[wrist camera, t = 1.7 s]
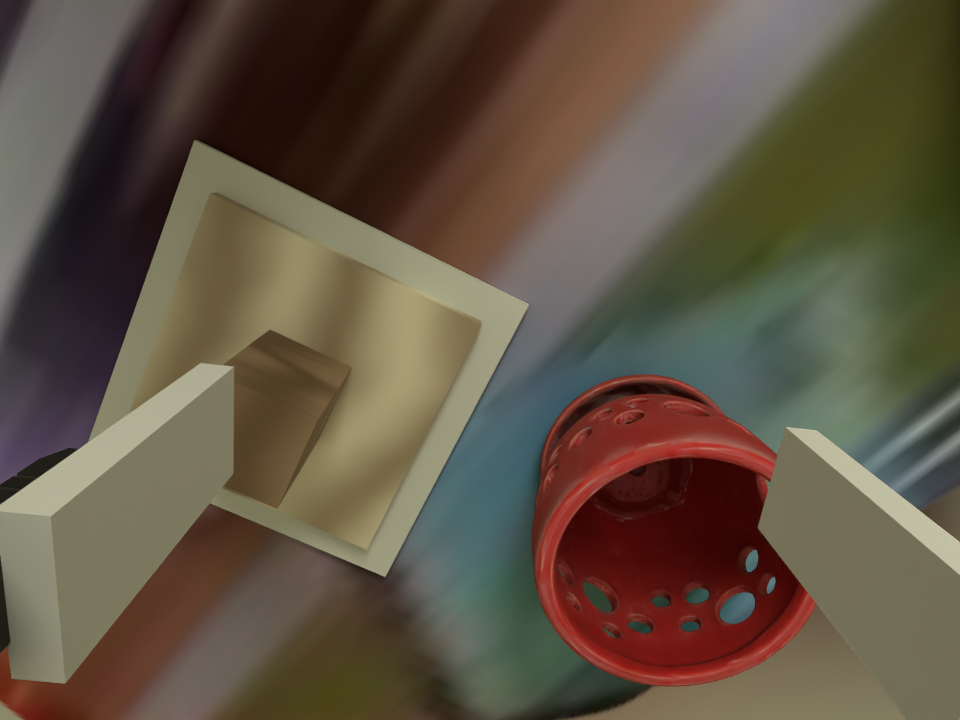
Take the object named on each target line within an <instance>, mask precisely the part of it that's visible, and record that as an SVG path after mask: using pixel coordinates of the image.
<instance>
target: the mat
mask: <svg viewBox="0 0 960 720" xmlns="http://www.w3.org/2000/svg"><path fill="white" fill-rule="evenodd" d="M210 193H219V194H221V195H223V196H226V197H228V198H230V199H232V200H234V201H236V202H238V203H240V204H242V205H244V206H246V207H248V208H250V209H252V210H254V211H256V212H258V213H260V214H263V215H265V216H267V217H269V218H271V219H273V220H275V221H277V222H279V223H281V224H283V225H285V226H287V227H289V228H291V229H293V230H295V231H297V232H300V233H302V234H304V235H306V236H308V237H310V238H312V239H314V240H316V241H318V242H320V243H322V244H324V245H326V246H328V247H330V248H332V249H334V250H337V251H339V252H341V253H343V254H345V255H347V256H349V257H351V258H353V259H355V260H357V261H359V262H361V263H363V264H365V265H367V266H369V267H371V268H374V269H376V270H378V271H380V272H382V273H384V274H386V275H388V276H390V277H392V278H394V279H396V280H398V281H400V282H402V283H404V284H406V285H408V286H411V287H413V288H415V289H417V290H419V291H421V292H423V293H425V294H427V295H429V296H431V297H433V298H435V299H437V300H439V301H441V302H443V303H445V304H448V305H450V306H452V307H454V308H456V309H458V310H460V311H462V312H464V313H466V314H468V315H470V316H472V317H474V318H476V319H478V320H480V321H482V325H481V327H480V329H479V331H478V333H477V335H476V337H475V339H474V341H473V343H472V345H471V347H470V349H469V351H468V353H467V355H466V357H465V359H464V361H463V363H462V365H461V366H460V368H459V370H458V372H457V374H456V376H455V378H454V380H453V382H452V384H451V386H450V388H449V390H448V392H447V394H446V396H445V398H444V400H443V402H442V404H441V406H440V408H439V409H438V411H437V413H436V415H435V417H434V419H433V421H432V423H431V425H430V427H429V429H428V431H427V433H426V435H425V437H424V439H423V441H422V443H421V445H420V447H419V449H418V450H417V452H416V454H415V456H414V458H413V460H412V462H411V464H410V466H409V468H408V470H407V472H406V474H405V476H404V478H403V480H402V482H401V484H400V486H399V488H398V490H397V492H396V493H395V495H394V497H393V499H392V501H391V503H390V505H389V507H388V509H387V511H386V513H385V515H384V517H383V519H382V521H381V523H380V525H379V527H378V529H377V531H376V533H375V534H374V536H373V538H372V540H371V542H370V544H369V546H368V548H367V549H364V548H362V547H360V546H357V545H355V544H352V543H350V542H348V541H345V540H343V539H341V538H338V537H336V536H334V535H331V534H329V533H327V532H324V531H322V530H320V529H317V528H315V527H312V526H310V525H308V524H305V523H303V522H301V521H298V520H296V519H294V518H291V517H289V516H287V515H284V514H282V513H280V512H277V511H275V510H272V509H270V508H268V507H265V506H263V505H261V504H258V503H256V502H254V501H251V500H249V499H247V498H244V497H242V496H239V495H237V494H235V493H232V492H230V491H228V490H225V489H223V488H221V490H220V491H219V492H218V493H217V495H216V496H215V497H214V498H213V500H212V501H211V502H210V503H211V504H213V505H215V506H218V507H220V508H222V509H225V510H227V511H230V512H232V513H234V514H237V515H239V516H242V517H244V518H246V519H249V520H251V521H253V522H256V523H258V524H261V525H263V526H265V527H268V528H270V529H272V530H275V531H277V532H280V533H282V534H284V535H287V536H289V537H291V538H294V539H296V540H299V541H301V542H303V543H306V544H308V545H310V546H313V547H315V548H318V549H320V550H322V551H325V552H327V553H329V554H332V555H334V556H337V557H339V558H341V559H344V560H346V561H348V562H351V563H353V564H356V565H358V566H360V567H363V568H365V569H368V570H370V571H372V572H375V573H377V574H379V575H382V576H384V577H386V575H387V573H388V571H389V569H390V567H391V565H392V563H393V561H394V560H395V558H396V556H397V554H398V552H399V550H400V548H401V546H402V544H403V543H404V541H405V539H406V537H407V535H408V533H409V531H410V529H411V527H412V526H413V524H414V522H415V520H416V518H417V516H418V514H419V512H420V510H421V509H422V507H423V505H424V503H425V501H426V499H427V497H428V495H429V493H430V492H431V490H432V488H433V486H434V484H435V482H436V480H437V478H438V476H439V474H440V473H441V471H442V469H443V467H444V465H445V463H446V461H447V459H448V457H449V456H450V454H451V452H452V450H453V448H454V446H455V444H456V442H457V440H458V439H459V437H460V435H461V433H462V431H463V429H464V427H465V425H466V423H467V422H468V420H469V418H470V416H471V414H472V412H473V410H474V408H475V406H476V404H477V403H478V401H479V399H480V397H481V395H482V393H483V391H484V389H485V387H486V386H487V384H488V382H489V380H490V378H491V376H492V374H493V372H494V370H495V369H496V367H497V365H498V363H499V361H500V359H501V357H502V355H503V353H504V352H505V350H506V348H507V346H508V344H509V342H510V340H511V338H512V336H513V335H514V333H515V331H516V329H517V327H518V325H519V323H520V321H521V319H522V317H523V316H524V314H525V312H526V310H527V308H528V306H529V305H528V304H527V303H525V302H523V301H521V300H519V299H517V298H515V297H513V296H511V295H509V294H507V293H505V292H503V291H501V290H499V289H497V288H495V287H493V286H491V285H489V284H487V283H485V282H483V281H481V280H479V279H477V278H475V277H473V276H471V275H469V274H467V273H465V272H463V271H461V270H459V269H457V268H455V267H453V266H451V265H449V264H446V263H444V262H442V261H440V260H438V259H436V258H434V257H432V256H430V255H428V254H426V253H424V252H422V251H420V250H418V249H416V248H414V247H412V246H410V245H408V244H406V243H404V242H402V241H400V240H398V239H396V238H394V237H392V236H390V235H388V234H386V233H384V232H382V231H380V230H378V229H376V228H374V227H372V226H370V225H368V224H366V223H364V222H362V221H360V220H358V219H356V218H354V217H352V216H350V215H348V214H346V213H344V212H342V211H339V210H337V209H335V208H333V207H331V206H329V205H327V204H325V203H323V202H321V201H319V200H317V199H315V198H313V197H311V196H309V195H307V194H305V193H303V192H301V191H299V190H297V189H295V188H293V187H291V186H289V185H287V184H285V183H283V182H281V181H279V180H277V179H275V178H273V177H271V176H269V175H267V174H265V173H263V172H261V171H259V170H257V169H255V168H253V167H251V166H249V165H247V164H245V163H243V162H241V161H239V160H237V159H235V158H233V157H230V156H228V155H226V154H224V153H222V152H220V151H218V150H216V149H214V148H212V147H210V146H208V145H206V144H204V143H202V142H200V141H197V140H194V143H193V146H192V148H191V151H190V154H189V157H188V160H187V163H186V165H185V168H184V171H183V174H182V177H181V180H180V182H179V185H178V188H177V191H176V194H175V197H174V200H173V202H172V205H171V208H170V211H169V214H168V217H167V219H166V222H165V225H164V228H163V231H162V234H161V237H160V239H159V242H158V245H157V248H156V251H155V254H154V256H153V259H152V262H151V265H150V268H149V271H148V274H147V276H146V279H145V282H144V285H143V288H142V291H141V293H140V296H139V299H138V302H137V305H136V308H135V310H134V313H133V316H132V319H131V322H130V325H129V328H128V330H127V333H126V336H125V339H124V342H123V345H122V347H121V350H120V353H119V356H118V359H117V362H116V365H115V367H114V370H113V373H112V376H111V379H110V382H109V384H108V387H107V390H106V393H105V396H104V399H103V402H102V404H101V407H100V410H99V413H98V416H97V419H96V421H95V424H94V427H93V430H92V433H91V436H90V438H89V441H88V442H90V441H91V440H92V439H94V438H95V437H97V436H98V435H100V434H101V433H102V432H104V431H105V430H107V429H108V428H109V427H111V426H112V425H114V424H115V423H117V422H118V421H119V420H121V419H122V418H124V417H125V416H126V415H128V414H129V412H130V410H131V407H132V404H133V401H134V399H135V396H136V393H137V390H138V388H139V385H140V382H141V380H142V377H143V374H144V371H145V369H146V366H147V363H148V360H149V358H150V355H151V352H152V349H153V347H154V344H155V341H156V339H157V336H158V333H159V330H160V328H161V325H162V322H163V319H164V317H165V314H166V311H167V309H168V306H169V303H170V300H171V298H172V295H173V292H174V289H175V287H176V284H177V281H178V278H179V276H180V273H181V270H182V268H183V265H184V262H185V259H186V257H187V254H188V251H189V248H190V246H191V243H192V240H193V238H194V235H195V232H196V229H197V227H198V224H199V221H200V218H201V216H202V213H203V210H204V207H205V205H206V202H207V199H208V197H209V194H210Z"/></svg>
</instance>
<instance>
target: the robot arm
mask: <svg viewBox="0 0 960 720" xmlns="http://www.w3.org/2000/svg"><path fill="white" fill-rule="evenodd" d="M233 465H234V367H232V366H223V365H214V364H205V363H200V364H199V365H197V366H196V367H194V368H193V369H192V370H190V371H189V372H187V373H186V374H185V375H183V376H182V377H180V378H179V379H177V380H176V381H175V382H173V383H172V384H170V385H169V386H168V387H166V388H165V389H163V390H162V391H160V392H159V393H158V394H156V395H155V396H153V397H152V398H151V399H149V400H148V401H146V402H145V403H143V404H142V405H141V406H139V407H138V408H136V409H135V410H134V411H132V412H131V413H129V414H128V415H126V416H125V417H124V418H122V419H121V420H119V421H118V422H117V423H115V424H114V425H112V426H111V427H109V428H108V429H107V430H105V431H104V432H102V433H101V434H100V435H98V436H97V437H95V438H94V439H92V440H91V441H90V442H88V443H87V444H85V445H84V446H83V447H81V448H80V449H73V448H68V449H65V450H62V451H60V452H57V453H54V454H51V455H49V456H46V457H43V458H41V459H38V460H37V461H35V462H34V463H32V464H31V465H29V466H28V467H26V468H25V469H23V470H22V471H20V472H19V473H17V477H15V476H13V477H11V478H10V479H8V480H7V481H5V482H4V483H2V484H1V485H0V652H1V651H2V650H3V649H4V648H5V647H6V646H7V645H8V652H9V661H10V669H11V678H12V679H22V680H32V681H43V682H54V683H66V682H67V681H68V680H69V678H70V677H71V676H72V675H73V673H74V672H75V671H76V670H77V668H78V667H79V666H80V665H81V663H82V662H83V661H84V660H85V658H86V657H87V656H88V655H89V653H90V652H91V651H92V650H93V648H94V647H95V646H96V645H97V643H98V642H99V641H100V640H101V638H102V637H103V636H104V635H105V633H106V632H107V631H108V630H109V628H110V627H111V626H112V625H113V623H114V622H115V621H116V620H117V618H118V617H119V616H120V615H121V613H122V612H123V611H124V610H125V608H126V607H127V606H128V605H129V603H130V602H131V601H132V600H133V598H134V597H135V596H136V595H137V593H138V592H139V591H140V590H141V588H142V587H143V586H144V585H145V583H146V582H147V581H148V580H149V578H150V577H151V576H152V575H153V573H154V572H155V571H156V570H157V568H158V567H159V566H160V565H161V563H162V562H163V561H164V560H165V558H166V557H167V556H168V555H169V553H170V552H171V551H172V550H173V548H174V547H175V546H176V545H177V543H178V542H179V541H180V540H181V538H182V537H183V536H184V535H185V533H186V532H187V531H188V530H189V528H190V527H191V526H192V525H193V523H194V522H195V521H196V520H197V518H198V517H199V516H200V515H201V513H202V512H203V511H204V510H205V508H206V507H207V506H208V505H209V503H210V502H211V501H212V500H213V498H214V497H215V496H216V495H217V493H218V492H219V491H220V490H221V488H222V487H223V486H224V485H225V483H226V482H227V481H228V480H229V478H230V477H231V476H232V475H233ZM758 529H759V530H760V531H761V533H762V534H763V535H764V537H765V538H766V539H767V540H768V542H769V543H770V544H771V546H772V547H773V548H774V549H775V551H776V552H777V553H778V555H779V556H780V557H781V559H782V560H783V561H784V562H785V564H786V565H787V566H788V568H789V569H790V570H791V571H792V573H793V574H794V575H795V577H796V578H797V579H798V581H799V582H800V583H801V584H802V586H803V587H804V588H805V590H806V591H807V592H808V593H809V595H810V596H811V597H812V599H813V600H814V601H815V603H816V604H817V605H818V606H819V608H820V609H821V610H822V611H823V613H824V614H825V615H826V617H827V618H828V619H829V621H830V622H831V623H832V625H833V626H834V627H835V628H836V630H837V631H838V632H839V634H840V635H841V636H842V637H843V639H844V640H845V641H846V643H847V644H848V645H849V646H850V648H851V649H852V650H853V652H854V653H855V654H856V656H857V657H858V658H859V659H860V661H861V662H862V663H863V665H864V666H865V667H866V669H867V670H868V671H869V672H870V674H871V675H872V676H873V678H874V679H875V680H876V681H877V683H878V684H879V685H880V687H881V688H882V689H883V691H884V692H885V693H886V694H887V696H888V697H889V698H890V699H891V701H892V702H893V703H894V704H895V706H896V707H897V709H898V710H899V711H900V712H901V714H902V715H903V716H904V718H905V719H906V720H960V542H959V541H957V540H956V539H955V538H954V537H952V536H951V535H950V534H949V533H947V532H946V531H945V530H943V529H942V528H941V527H939V526H938V525H937V524H936V523H934V522H933V521H932V520H930V519H929V518H928V517H927V516H925V515H924V514H923V513H922V512H920V511H919V510H918V509H917V508H915V507H914V506H913V505H911V504H910V503H909V502H908V501H906V500H905V499H904V498H902V497H901V496H900V495H899V494H897V493H896V492H895V491H893V490H892V489H891V488H890V487H888V486H887V485H886V484H885V483H883V482H882V481H881V480H879V479H878V478H877V477H876V476H874V475H873V474H872V473H870V472H869V471H868V470H867V469H865V468H864V467H863V466H861V465H860V464H859V463H858V462H856V461H855V460H854V459H852V458H851V457H850V456H849V455H847V454H846V453H845V452H844V451H842V450H841V449H840V448H838V447H837V446H836V445H835V444H833V443H832V442H831V441H829V440H828V439H827V438H826V437H824V436H823V435H822V434H820V433H819V432H818V431H817V430H807V429H798V428H789V427H785V431H784V434H783V438H782V441H781V445H780V449H779V452H778V456H777V460H776V463H775V467H774V470H773V474H772V478H771V481H770V485H769V489H768V492H767V496H766V499H765V503H764V507H763V510H762V514H761V518H760V521H759V525H758Z"/></svg>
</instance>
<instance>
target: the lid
mask: <svg viewBox="0 0 960 720" xmlns="http://www.w3.org/2000/svg"><path fill="white" fill-rule="evenodd" d="M481 325H482V321H480V320H478V319H476V318H474V317H472V316H470V315H468V314H466V313H464V312H462V311H460V310H458V309H456V308H454V307H452V306H450V305H448V304H445V303H443V302H441V301H439V300H437V299H435V298H433V297H431V296H429V295H427V294H425V293H423V292H421V291H419V290H417V289H415V288H413V287H411V286H408V285H406V284H404V283H402V282H400V281H398V280H396V279H394V278H392V277H390V276H388V275H386V274H384V273H382V272H380V271H378V270H376V269H374V268H371V267H369V266H367V265H365V264H363V263H361V262H359V261H357V260H355V259H353V258H351V257H349V256H347V255H345V254H343V253H341V252H339V251H337V250H334V249H332V248H330V247H328V246H326V245H324V244H322V243H320V242H318V241H316V240H314V239H312V238H310V237H308V236H306V235H304V234H302V233H300V232H297V231H295V230H293V229H291V228H289V227H287V226H285V225H283V224H281V223H279V222H277V221H275V220H273V219H271V218H269V217H267V216H265V215H263V214H260V213H258V212H256V211H254V210H252V209H250V208H248V207H246V206H244V205H242V204H240V203H238V202H236V201H234V200H232V199H230V198H228V197H226V196H223V195H221V194H219V193H210V194H209V197H208V199H207V202H206V205H205V207H204V210H203V213H202V216H201V218H200V221H199V224H198V227H197V229H196V232H195V235H194V238H193V240H192V243H191V246H190V248H189V251H188V254H187V257H186V259H185V262H184V265H183V268H182V270H181V273H180V276H179V278H178V281H177V284H176V287H175V289H174V292H173V295H172V298H171V300H170V303H169V306H168V309H167V311H166V314H165V317H164V319H163V322H162V325H161V328H160V330H159V333H158V336H157V339H156V341H155V344H154V347H153V349H152V352H151V355H150V358H149V360H148V363H147V366H146V369H145V371H144V374H143V377H142V380H141V382H140V385H139V388H138V390H137V393H136V396H135V399H134V401H133V404H132V407H131V410H130V412H129V413H131V412H132V411H134V410H135V409H136V408H138V407H139V406H141V405H142V404H143V403H145V402H146V401H148V400H149V399H151V398H152V397H153V396H155V395H156V394H158V393H159V392H160V391H162V390H163V389H165V388H166V387H168V386H169V385H170V384H172V383H173V382H175V381H176V380H177V379H179V378H180V377H182V376H183V375H185V374H186V373H187V372H189V371H190V370H192V369H193V368H194V367H196V366H197V365H199V364H200V363H205V364H214V365H223V366H232V367H234V465H233V475H232V476H231V477H230V478H229V480H228V481H227V482H226V483H225V485H224V486H223V487H222V488H223V489H225V490H228V491H230V492H232V493H235V494H237V495H239V496H242V497H244V498H247V499H249V500H251V501H254V502H256V503H258V504H261V505H263V506H265V507H268V508H270V509H272V510H275V511H277V512H280V513H282V514H284V515H287V516H289V517H291V518H294V519H296V520H298V521H301V522H303V523H305V524H308V525H310V526H312V527H315V528H317V529H320V530H322V531H324V532H327V533H329V534H331V535H334V536H336V537H338V538H341V539H343V540H345V541H348V542H350V543H352V544H355V545H357V546H360V547H362V548H364V549H367V548H368V546H369V544H370V542H371V540H372V538H373V536H374V534H375V533H376V531H377V529H378V527H379V525H380V523H381V521H382V519H383V517H384V515H385V513H386V511H387V509H388V507H389V505H390V503H391V501H392V499H393V497H394V495H395V493H396V492H397V490H398V488H399V486H400V484H401V482H402V480H403V478H404V476H405V474H406V472H407V470H408V468H409V466H410V464H411V462H412V460H413V458H414V456H415V454H416V452H417V450H418V449H419V447H420V445H421V443H422V441H423V439H424V437H425V435H426V433H427V431H428V429H429V427H430V425H431V423H432V421H433V419H434V417H435V415H436V413H437V411H438V409H439V408H440V406H441V404H442V402H443V400H444V398H445V396H446V394H447V392H448V390H449V388H450V386H451V384H452V382H453V380H454V378H455V376H456V374H457V372H458V370H459V368H460V366H461V365H462V363H463V361H464V359H465V357H466V355H467V353H468V351H469V349H470V347H471V345H472V343H473V341H474V339H475V337H476V335H477V333H478V331H479V329H480V327H481Z"/></svg>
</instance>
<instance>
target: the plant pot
mask: <svg viewBox="0 0 960 720" xmlns="http://www.w3.org/2000/svg"><path fill="white" fill-rule="evenodd" d="M776 460H777V455H776V454H775V453H774V452H773V451H772V450H771V449H770V448H769V447H768V446H767V445H766V444H764V443H763V442H762V441H761V440H760V439H759V438H757V437H756V436H755V435H754V434H753V433H751V432H750V431H749V430H747V429H746V428H745V427H743V426H742V425H740V424H739V423H737V422H735V421H733V420H732V419H730V418H728V417H726V416H725V415H724V414H723V412H722V411H721V410H720V409H719V407H718V406H717V405H716V404H715V403H714V402H713V401H712V400H711V399H710V398H708V397H707V396H706V395H704V394H703V393H702V392H700V391H699V390H697V389H696V388H694V387H692V386H690V385H688V384H686V383H684V382H681V381H678V380H675V379H673V378H669V377H664V376H658V375H631V376H624V377H618V378H615V379H611V380H608V381H606V382H603V383H601V384H599V385H596V386H594V387H592V388H591V389H589V390H587V391H586V392H584V393H583V394H581V395H580V396H579V397H577V398H576V399H575V400H573V401H572V402H571V403H570V404H569V405H568V406H567V407H566V408H565V409H564V410H563V411H562V413H561V414H560V415H559V417H558V418H557V419H556V421H555V422H554V424H553V426H552V427H551V429H550V431H549V433H548V436H547V438H546V441H545V444H544V447H543V451H542V456H541V467H540V472H541V478H540V482H539V486H538V489H537V495H536V503H535V514H534V520H533V527H532V555H533V566H534V576H535V584H536V589H537V593H538V596H539V600H540V603H541V606H542V608H543V610H544V612H545V614H546V616H547V618H548V619H549V621H550V623H551V624H552V626H553V628H554V629H555V631H556V632H557V634H558V635H559V636H560V637H561V639H562V640H563V641H564V642H565V643H566V644H567V645H568V646H569V647H570V648H571V649H572V650H573V651H574V652H576V653H577V654H578V655H579V656H580V657H582V658H583V659H585V660H586V661H588V662H589V663H591V664H593V665H594V666H596V667H598V668H599V669H601V670H603V671H605V672H607V673H609V674H612V675H614V676H617V677H620V678H623V679H626V680H629V681H633V682H637V683H641V684H646V685H655V686H689V685H698V684H704V683H709V682H714V681H718V680H721V679H725V678H728V677H731V676H734V675H736V674H739V673H741V672H744V671H746V670H748V669H750V668H752V667H754V666H756V665H758V664H760V663H762V662H763V661H765V660H766V659H768V658H769V657H770V656H772V655H773V654H774V653H776V652H777V651H778V650H780V649H781V648H783V647H784V646H785V645H786V644H787V643H788V642H789V641H790V640H791V639H792V638H794V637H795V635H796V634H797V633H798V632H799V631H800V629H801V628H802V627H803V626H804V625H805V623H806V621H807V620H808V618H809V617H810V615H811V614H812V612H813V610H814V609H815V607H816V605H817V604H816V603H815V601H814V600H813V599H812V597H811V596H810V595H809V593H808V592H807V591H806V590H805V588H804V587H803V586H802V584H801V583H800V582H799V581H798V579H797V578H796V577H795V575H794V574H793V573H792V571H791V570H790V569H789V568H788V566H787V565H786V564H785V562H784V561H783V560H782V559H781V557H780V556H779V555H778V553H777V552H776V551H775V549H774V548H773V547H772V546H771V544H770V543H769V542H768V540H767V539H766V538H765V537H764V535H763V534H762V533H761V531H760V530H759V529H758V525H759V521H760V518H761V514H762V510H763V507H764V503H765V499H766V496H767V492H768V486H767V482H766V479H767V480H768V481H769V482H770V481H771V478H772V474H773V470H774V467H775V463H776ZM755 549H756V550H757V553H758V557H759V558H758V564H757V567H756V568H755V569H754V570H753V571H752V572H747V570H746V565H745V564H746V559H747V556H748V555H749V553H751V552H752V551H753V550H755ZM558 568H559V570H560V571H561V573H562V575H563V577H564V579H563V577H562V576H561V574H560V572H559V570H558ZM773 577H775V579H776V583H775V587H774V589H773V591H772V592H771V593H769V594H767V590H766V589H767V585H768V583H769V581H770V579H771V578H773ZM583 582H587V583H590V584H593V585H594V586H596V587H597V588H599V589H600V590H601V591H602V592H603V593H604V594H605V595H606V596H607V598H608V599H609V601H610V603H611V606H612V611H611V612H605V611H602V610H600V609H598V608H597V607H596V606H594V605H593V604H592V603H591V602H590V600H589V599H588V597H587V596H586V594H585V593H584V590H583ZM696 588H703V589H706V590H708V591H709V597H708V599H707V600H706V601H704V602H702V603H699V604H693V603H689V602H687V601H686V596H687V594H688V593H689V592H690V591H691V590H693V589H696ZM742 592H748V593H751V594H753V596H754V598H755V608H754V610H753V612H752V614H751V615H750V616H749V617H748V618H747V619H746V620H744V621H743V622H741V623H738V624H729V623H726V622H724V621H722V620H721V618H720V614H719V613H720V610H721V607H722V606H723V605H724V603H725V602H726V601H727V600H728V599H729V598H730V597H732V596H733V595H736V594H738V593H742ZM656 596H661V597H665V598H667V599H668V600H669V602H670V603H669V605H668V606H666V607H657V606H656V605H654V604H653V603H652V599H653V598H654V597H656ZM630 622H641V623H644V624H646V625H648V626H649V627H650V628H651V630H652V631H651V632H650V633H648V634H643V633H640V632H637V631H635V630H632V629H631V628H629V627H628V623H630ZM686 622H696V623H698V624H699V625H700V627H699V628H698V629H697V630H695V631H690V632H687V631H684V630H682V629H681V625H682V624H684V623H686ZM603 628H604V629H607V630H608V631H610V632H611V633H612V634H613V635H614V636H615V637H616V638H613V637H611V636H610V635H608V634H607V633H606V632H605V631H604V630H603Z"/></svg>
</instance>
